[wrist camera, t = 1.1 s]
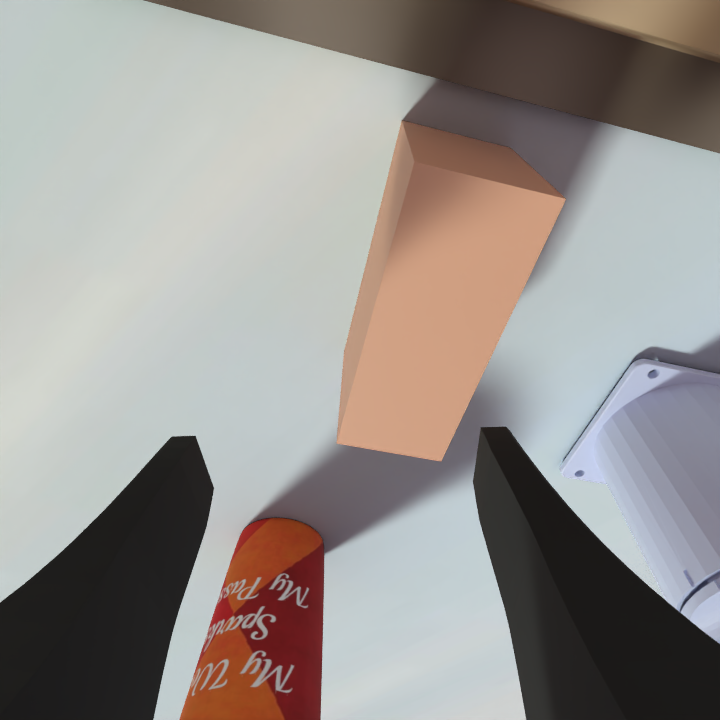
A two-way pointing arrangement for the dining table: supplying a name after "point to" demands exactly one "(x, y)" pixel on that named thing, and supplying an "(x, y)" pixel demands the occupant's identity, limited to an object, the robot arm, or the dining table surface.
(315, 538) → the paper cup
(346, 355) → the block
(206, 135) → the dining table surface
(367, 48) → the wooden stand
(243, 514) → the dining table surface
